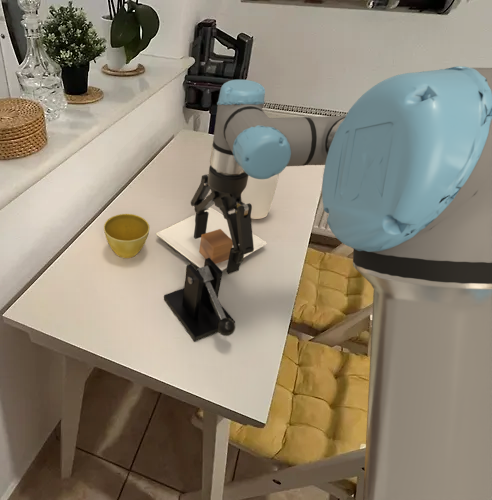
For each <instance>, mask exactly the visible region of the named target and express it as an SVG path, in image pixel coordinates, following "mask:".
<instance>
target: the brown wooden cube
mask: <svg viewBox="0 0 492 500" xmlns="http://www.w3.org/2000/svg"><path fill="white" fill-rule="evenodd" d="M232 247H233V243H232V240H231V239H230V238H229V237H228V236H227V235H226V234H225V233H224V232H223V231H222V230H221V229H218V230H215V231H212V232H208V233H205V234H202V235H201V242H200V249H199V252H200V254H201V255H202V256H203V257H204V258H205V259H207V258H210V259H211V260H212V261H213V262H214V263H215V264H217V263H220V262H223V261H226V260H229V255H230V249H231V248H232Z"/></svg>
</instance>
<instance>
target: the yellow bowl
mask: <svg viewBox="0 0 492 500" xmlns="http://www.w3.org/2000/svg"><path fill="white" fill-rule="evenodd" d="M103 231H104V235H105V239H106V242H107V243H108V245H109V247H110V248H111V250H112V251H113V252H114V254H115V255H117V256H118V257H119V258H121V259H132V258H134V257H135V256H137V255H138V254H139V253H140V251H141V250H142V249H143V247H144V245H145V244H146V242H147V239H148V236H149V233H150V224H149V222H148V221H147V220H146V219H145V218H144V217H142V216H140V215H137V214H134V213H133V214H132V213H120V214H115V215H113V216H111V217H109V218H108V219H106V221H105V222H104V224H103Z"/></svg>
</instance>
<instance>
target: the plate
mask: <svg viewBox="0 0 492 500" xmlns="http://www.w3.org/2000/svg"><path fill="white" fill-rule="evenodd" d="M206 211H207V212H208V213H209V214H208V221H207V228H206V233H208V232H212V231H215V230H218V229H221V230H222V231H223V232H224V233H225V234H226V235H227V236H228V237H229V238H230V239H231V235H230V231H229V227H228V223H227V220H226V219H225V218H224V216H223V213H221V212H219V211H218V210H216V209H215V208H214V207H212V206H211V207H210V208H208V210H205V211H204V212H206ZM195 216H196V213H195V214H192V215H191V216H189V217H186V218H184V219H183V220H180V221H179V222H176V223H174V224H172V225H170V226H168V227H166V228H164V229H162V230H159V231H157V232H156V233H155V235H156V236H157V237H158V238H160V239H161V240H162V241H163V242H165V243H166V244H167V245H169V246H170V247H171V248H173V249H174V250H175V251H176V252H178V253H179V254H180V255H182V256H183V257H184V258H186V260H188V261H189V262H191V264H192V265H195V266H196V267H197V268H201V267H204V263H205V258H204V257H203V256H202V255H201V254H200V252H199V249H200V242H201V238H197V239H195V238H194V231H195ZM252 235H253V246H254V251H253V252H250V253H247V254H244V257H243V259H244V258H246V257H248V256H249V255H251V254H253V253H254V252H256V251H258V250H259V249H261V248H263V247H265V246H266V245H268V242H267V241H266V240H264V239H262V238H261V237H259V236H258V235H256V234H254V233H253V232H252ZM231 240H232V239H231ZM232 248H233V247H232ZM216 265H217V266H218V267H219V269H220V270H221V271H222V272H224V270H227V265H228V260H226V261H223V262H220V263H217V264H216Z"/></svg>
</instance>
